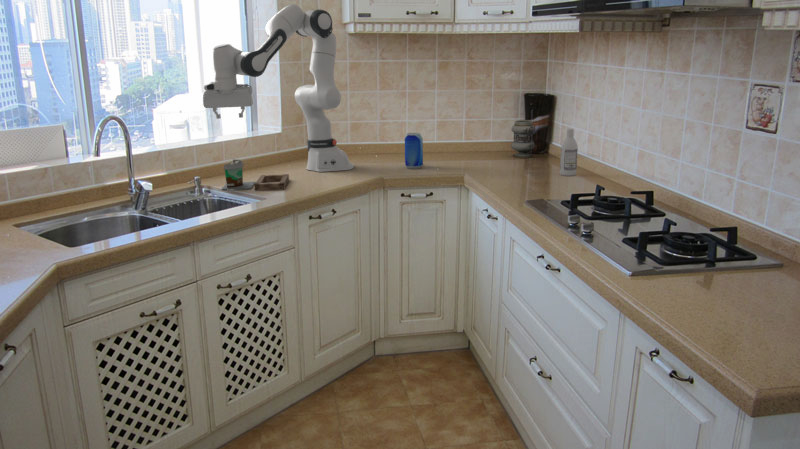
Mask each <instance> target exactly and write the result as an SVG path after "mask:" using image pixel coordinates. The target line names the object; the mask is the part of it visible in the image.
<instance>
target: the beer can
mask: <svg viewBox="0 0 800 449" xmlns="http://www.w3.org/2000/svg"><path fill="white" fill-rule="evenodd" d="M423 142H424V140H423V137H422V134H421V132H408V133H407V132H406V136H405V137H404V165H405V167H406V169H410V170H411V169H413V170H416V169H422V166H423V165H424V145H423V144H424V143H423Z"/></svg>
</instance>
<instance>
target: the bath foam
mask: <svg viewBox="0 0 800 449" xmlns="http://www.w3.org/2000/svg"><path fill="white" fill-rule="evenodd" d="M574 131H575V129H574V128H567V129H566V137H565V139H564V140H563V141H562V143H561V147H560V160H559V162H560V164H559V174H560V175H561V176H564V177H565V176H567V177H570V176H571V177H572V176H573V177H574V176H576V175H577V164H578V152H579V150H578V149H579V148H578V143H577V140H576V139H575V138H574V134H575V132H574Z"/></svg>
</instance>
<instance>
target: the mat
mask: <svg viewBox="0 0 800 449" xmlns="http://www.w3.org/2000/svg"><path fill="white" fill-rule="evenodd" d="M255 183H256V181H243V185H242V186H238V187H231V188H227V183H226V182H225V184H224V186H222V188H221V191H228V190H227V189H243V190H252V189H253V187H255V185H254V184H255Z"/></svg>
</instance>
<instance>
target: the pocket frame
mask: <svg viewBox="0 0 800 449" xmlns="http://www.w3.org/2000/svg"><path fill="white" fill-rule="evenodd" d="M289 181H290V175H289V174H288V173H287V174H282V173H281V174H261V175H260V176H259V177H258V178H257V180H256V181H255V184H254V191H269V190H270V191H271V190H273V191H274V190H286V187H287V185H288V182H289Z"/></svg>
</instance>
